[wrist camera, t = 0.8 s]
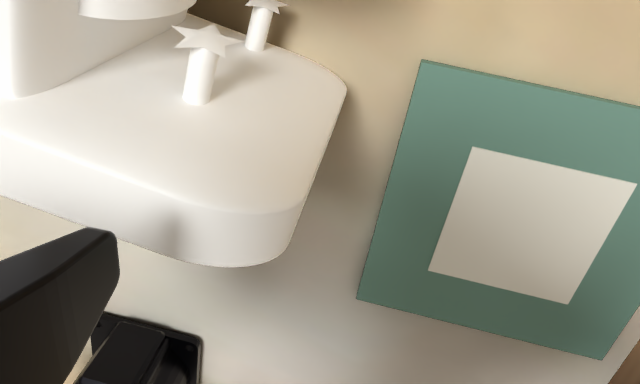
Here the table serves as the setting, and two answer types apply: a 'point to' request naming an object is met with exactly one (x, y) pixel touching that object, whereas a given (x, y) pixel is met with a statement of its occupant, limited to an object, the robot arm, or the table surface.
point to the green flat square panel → (512, 211)
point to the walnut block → (629, 368)
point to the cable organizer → (162, 125)
